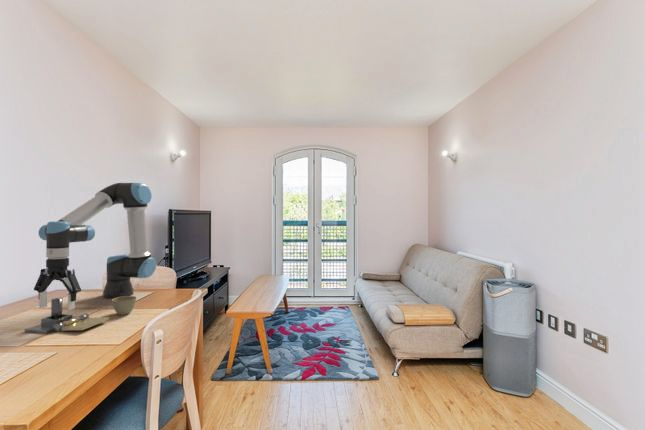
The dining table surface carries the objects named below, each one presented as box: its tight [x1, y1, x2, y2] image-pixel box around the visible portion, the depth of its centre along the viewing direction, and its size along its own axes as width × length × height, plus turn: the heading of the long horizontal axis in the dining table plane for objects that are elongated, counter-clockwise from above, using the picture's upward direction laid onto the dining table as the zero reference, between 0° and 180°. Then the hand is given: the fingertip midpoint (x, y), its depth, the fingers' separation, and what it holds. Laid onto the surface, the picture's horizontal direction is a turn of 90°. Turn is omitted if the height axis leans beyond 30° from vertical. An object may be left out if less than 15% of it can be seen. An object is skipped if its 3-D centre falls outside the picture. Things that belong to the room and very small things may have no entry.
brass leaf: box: [60, 315, 110, 332], centre depth 135 cm, size 13×13×3 cm
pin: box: [50, 297, 63, 319], centre depth 137 cm, size 4×4×10 cm
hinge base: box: [24, 313, 90, 334], centre depth 136 cm, size 18×13×4 cm
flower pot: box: [111, 295, 137, 316], centre depth 153 cm, size 10×10×7 cm
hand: (57, 308), depth 137 cm, fingers open, 13 cm apart
